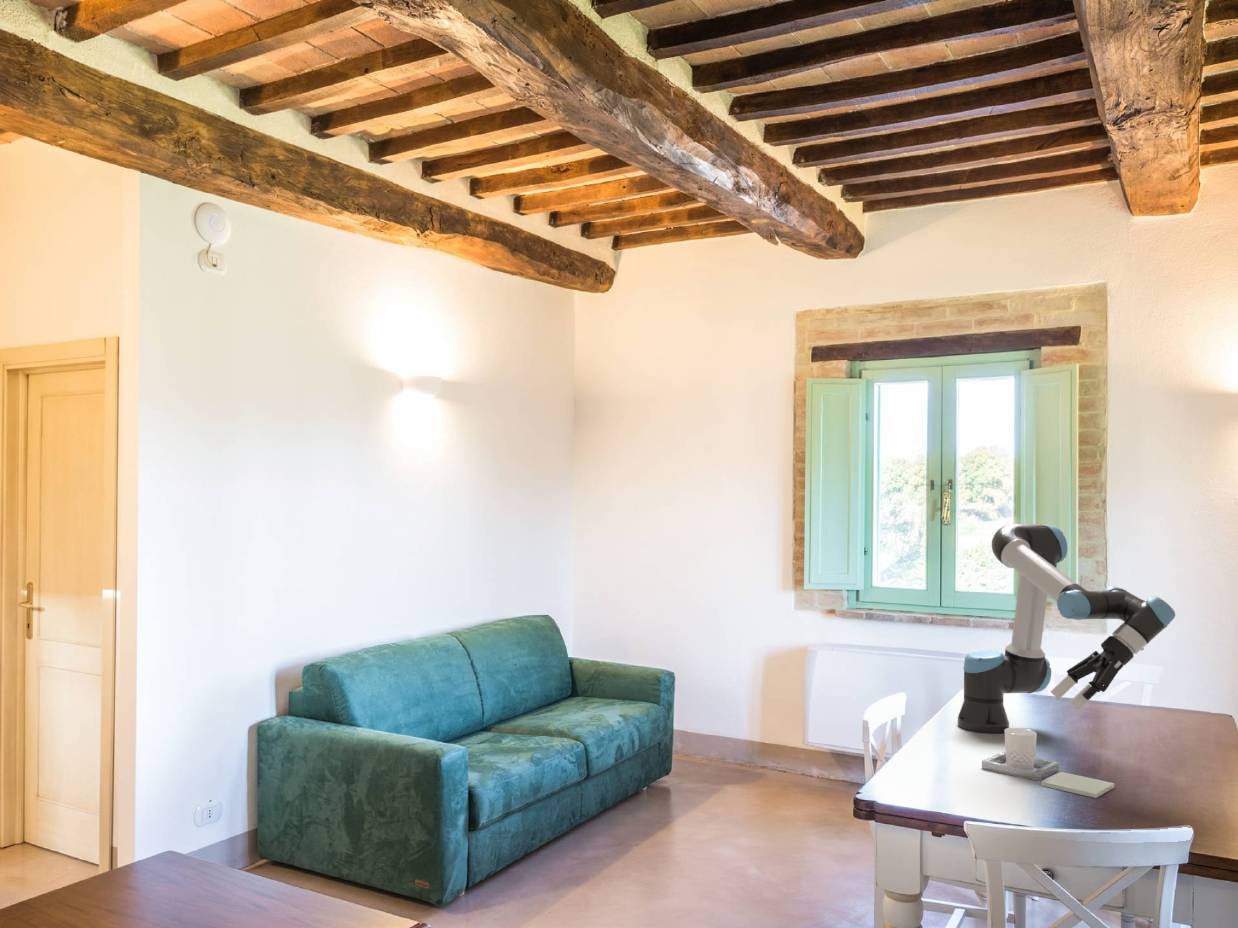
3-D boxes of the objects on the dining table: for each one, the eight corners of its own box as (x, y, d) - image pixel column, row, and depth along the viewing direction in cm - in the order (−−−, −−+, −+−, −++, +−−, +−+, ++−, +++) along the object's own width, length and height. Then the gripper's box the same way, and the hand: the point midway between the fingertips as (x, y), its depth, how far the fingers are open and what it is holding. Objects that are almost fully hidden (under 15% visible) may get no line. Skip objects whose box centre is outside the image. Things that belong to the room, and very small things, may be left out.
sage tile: (1041, 785, 239) (1041, 781, 239) (1060, 775, 248) (1060, 771, 248) (1096, 797, 229) (1096, 793, 229) (1114, 787, 239) (1114, 783, 239)
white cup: (1035, 767, 255) (1035, 729, 255) (1037, 775, 248) (1038, 736, 248) (1003, 763, 258) (1003, 726, 258) (1004, 771, 250) (1005, 733, 251)
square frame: (981, 768, 253) (981, 760, 253) (1004, 758, 263) (1004, 751, 263) (1037, 780, 242) (1037, 772, 243) (1058, 770, 253) (1058, 762, 253)
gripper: (1155, 663, 239) (1093, 721, 239) (1113, 648, 263) (1056, 701, 264) (1133, 641, 239) (1071, 699, 240) (1093, 628, 264) (1037, 681, 265)
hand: (1063, 700), depth 252 cm, fingers open, 13 cm apart
